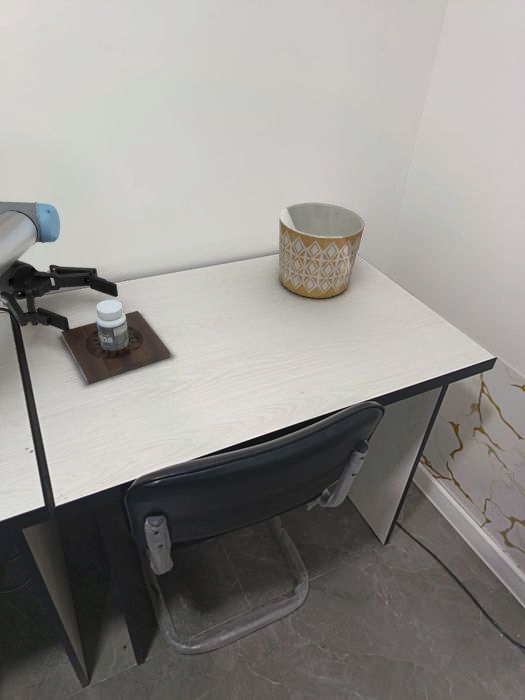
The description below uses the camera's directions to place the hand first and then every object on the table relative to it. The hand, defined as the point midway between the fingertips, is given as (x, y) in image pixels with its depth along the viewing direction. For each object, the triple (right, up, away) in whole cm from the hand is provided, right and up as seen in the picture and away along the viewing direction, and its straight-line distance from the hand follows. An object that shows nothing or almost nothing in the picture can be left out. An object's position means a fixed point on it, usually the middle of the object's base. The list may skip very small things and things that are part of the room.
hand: (93, 306), depth 94 cm
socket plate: (+3, -8, +4) cm, 9 cm away
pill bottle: (+3, -8, +4) cm, 9 cm away
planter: (+45, +8, +29) cm, 54 cm away
